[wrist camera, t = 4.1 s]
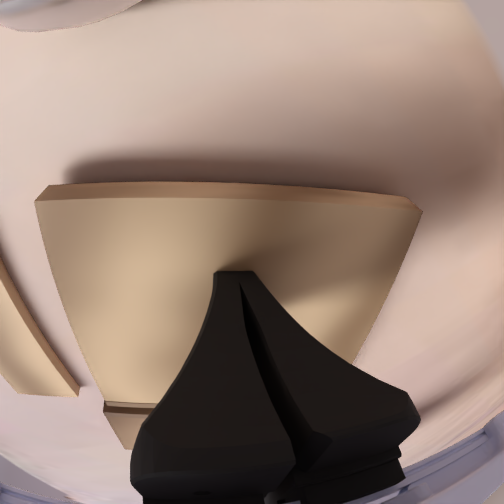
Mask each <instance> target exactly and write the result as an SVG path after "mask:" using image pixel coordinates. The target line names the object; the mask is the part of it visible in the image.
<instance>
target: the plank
mask: <svg viewBox="0 0 504 504" xmlns="http://www.w3.org/2000/svg"><path fill="white" fill-rule="evenodd" d="M0 374H1V375H2V376H3V377H4V378H5V380H6V381H7V382H8V383H9V384H10V385H11V386H12V388H13V389H14V390H15V391H16V392H17V393H18V394H29V395H43V396H62V397H78V395H79V390H80V387H79V385H78V384H77V383H76V382H75V380H74V379H73V378H72V376H71V375H70V374H69V372H68V371H67V370H66V368H65V367H64V365H63V364H62V363H61V361H60V360H59V358H58V357H57V355H56V354H55V352H54V351H53V350H52V348H51V347H50V345H49V344H48V342H47V340H46V339H45V337H44V336H43V334H42V333H41V331H40V329H39V328H38V326H37V325H36V323H35V321H34V320H33V318H32V316H31V315H30V313H29V311H28V309H27V308H26V306H25V304H24V302H23V300H22V299H21V297H20V295H19V293H18V291H17V289H16V287H15V285H14V284H13V282H12V280H11V278H10V276H9V274H8V271H7V269H6V267H5V265H4V263H3V261H2V259H1V257H0Z"/></svg>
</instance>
